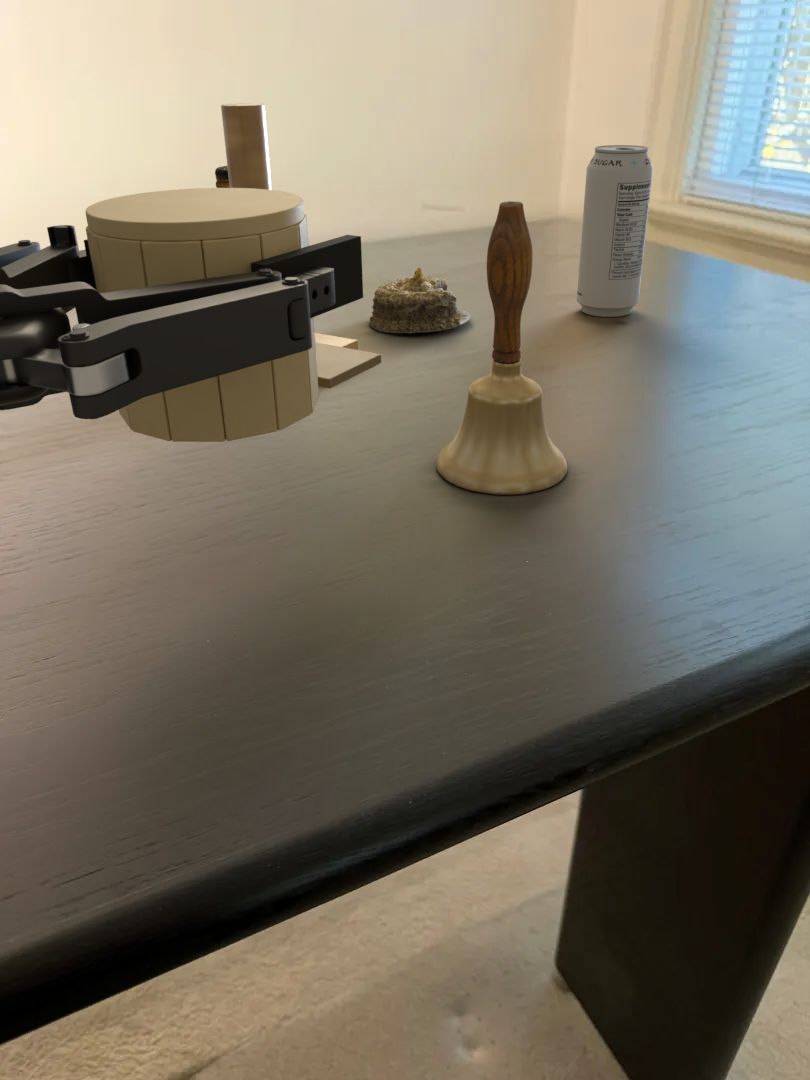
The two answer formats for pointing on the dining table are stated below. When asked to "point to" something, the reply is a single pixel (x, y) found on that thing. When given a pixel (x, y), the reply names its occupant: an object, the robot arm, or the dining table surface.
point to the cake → (415, 306)
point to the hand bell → (505, 386)
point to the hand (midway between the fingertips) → (271, 255)
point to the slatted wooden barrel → (205, 252)
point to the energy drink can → (614, 229)
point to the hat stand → (256, 165)
